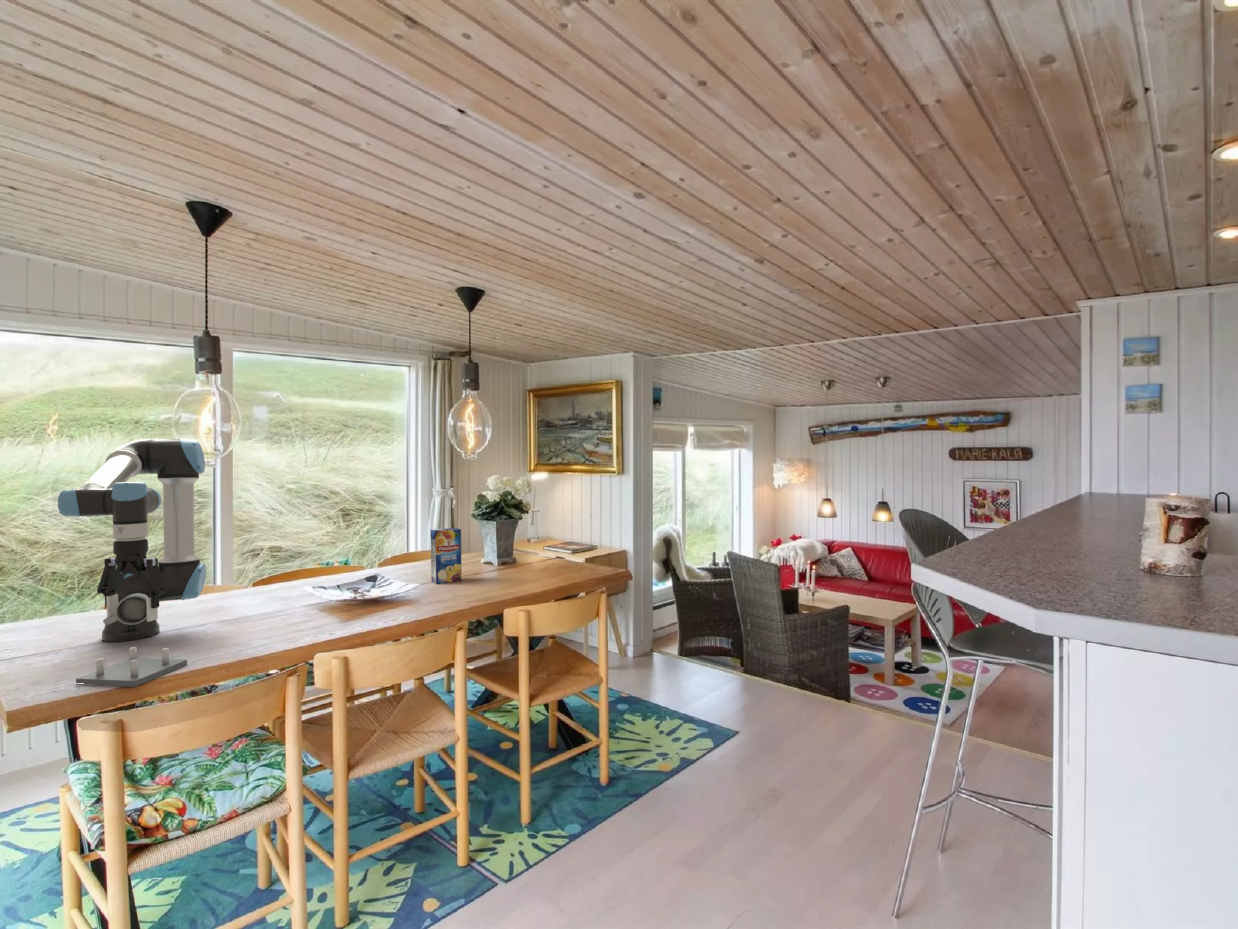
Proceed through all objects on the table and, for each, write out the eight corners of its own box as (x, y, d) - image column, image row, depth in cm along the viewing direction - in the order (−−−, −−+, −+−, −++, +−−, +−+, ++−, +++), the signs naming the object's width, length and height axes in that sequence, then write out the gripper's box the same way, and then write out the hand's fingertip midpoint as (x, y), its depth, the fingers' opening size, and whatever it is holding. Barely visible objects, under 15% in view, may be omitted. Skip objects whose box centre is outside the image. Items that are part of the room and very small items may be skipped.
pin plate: (76, 684, 167) (75, 663, 167) (133, 662, 184) (132, 643, 184) (134, 686, 165) (134, 665, 165) (187, 664, 182) (186, 645, 182)
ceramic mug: (154, 616, 180) (152, 588, 180) (151, 622, 173) (149, 594, 173) (106, 622, 174) (104, 594, 174) (101, 629, 167) (99, 599, 167)
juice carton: (456, 578, 303) (455, 527, 302) (461, 581, 296) (461, 529, 296) (431, 581, 296) (430, 529, 296) (435, 584, 290) (435, 531, 289)
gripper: (78, 540, 171) (80, 622, 172) (158, 541, 168) (160, 624, 169) (104, 537, 179) (106, 615, 179) (181, 537, 176) (183, 617, 176)
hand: (132, 619), depth 174 cm, fingers closed on ceramic mug, 11 cm apart
